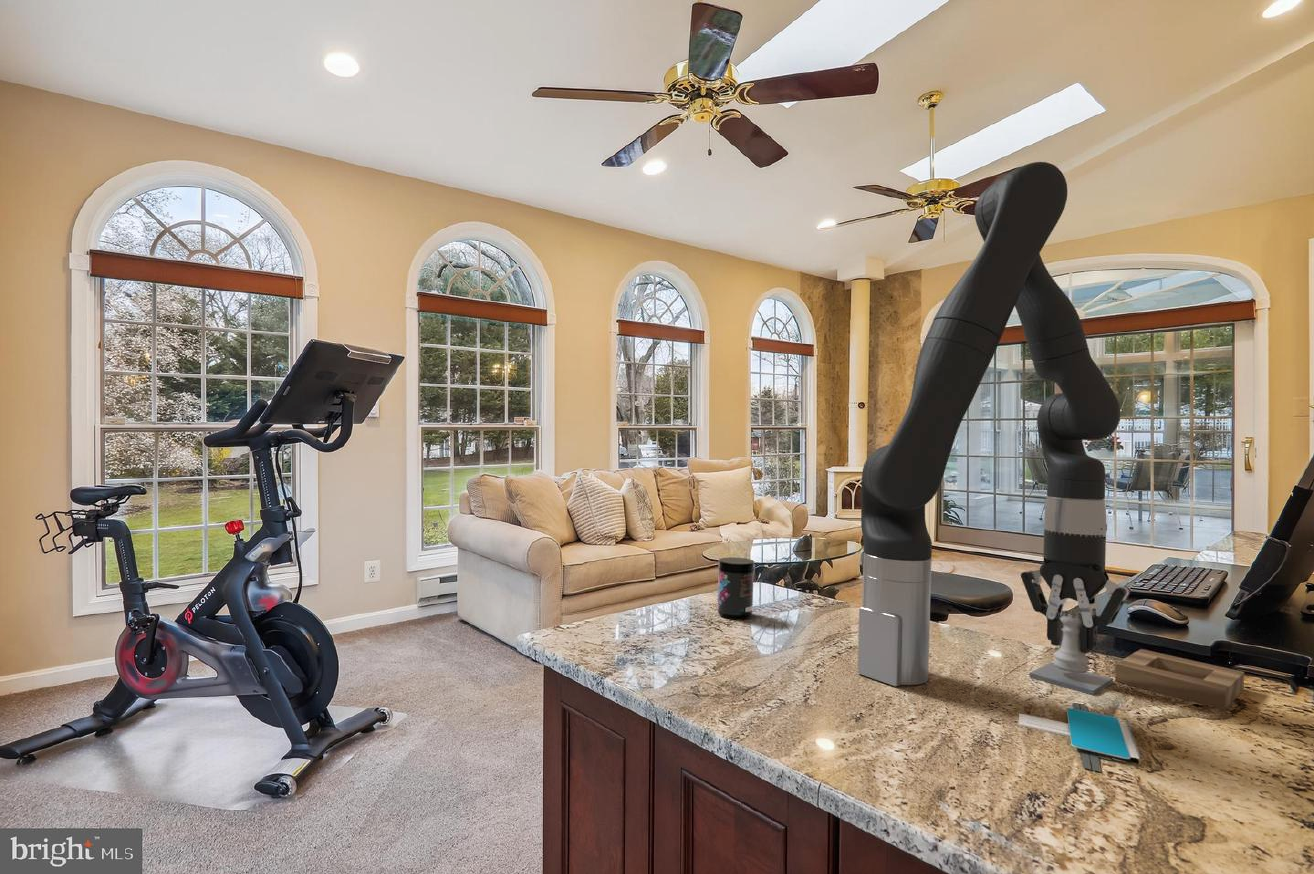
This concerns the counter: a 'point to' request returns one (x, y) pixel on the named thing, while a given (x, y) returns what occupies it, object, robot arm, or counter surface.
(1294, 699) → the counter surface
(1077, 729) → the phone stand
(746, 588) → the supplement container
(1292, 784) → the counter surface
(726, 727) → the counter surface
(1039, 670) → the slate coaster
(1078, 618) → the rook chess piece
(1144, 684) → the pocket block
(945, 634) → the counter surface
